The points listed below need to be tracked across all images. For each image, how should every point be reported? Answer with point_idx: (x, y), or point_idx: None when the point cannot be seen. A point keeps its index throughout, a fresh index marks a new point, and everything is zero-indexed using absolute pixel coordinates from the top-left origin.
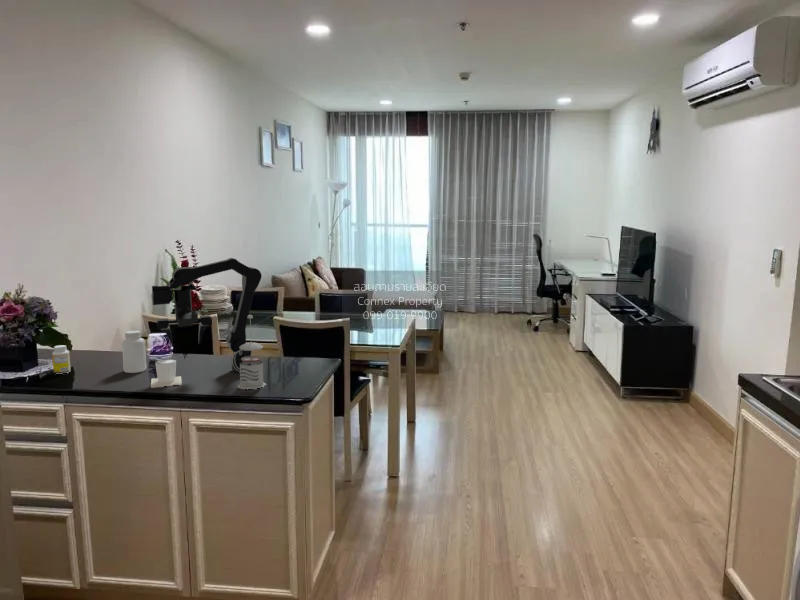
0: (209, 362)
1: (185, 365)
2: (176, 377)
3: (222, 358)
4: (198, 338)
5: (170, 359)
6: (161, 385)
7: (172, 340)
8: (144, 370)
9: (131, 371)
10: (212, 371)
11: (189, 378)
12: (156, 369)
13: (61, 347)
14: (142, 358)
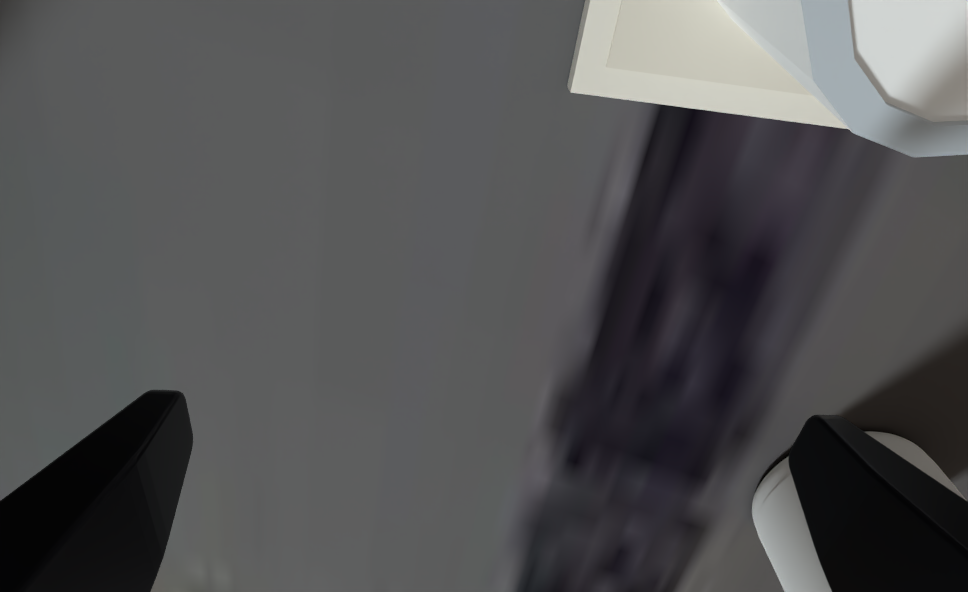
0: (225, 510)
1: (435, 494)
2: (644, 38)
3: None
4: (144, 579)
5: (871, 82)
6: None
7: (945, 533)
8: (786, 459)
9: (908, 444)
10: (179, 216)
11: (478, 4)
12: None
13: None
14: None
